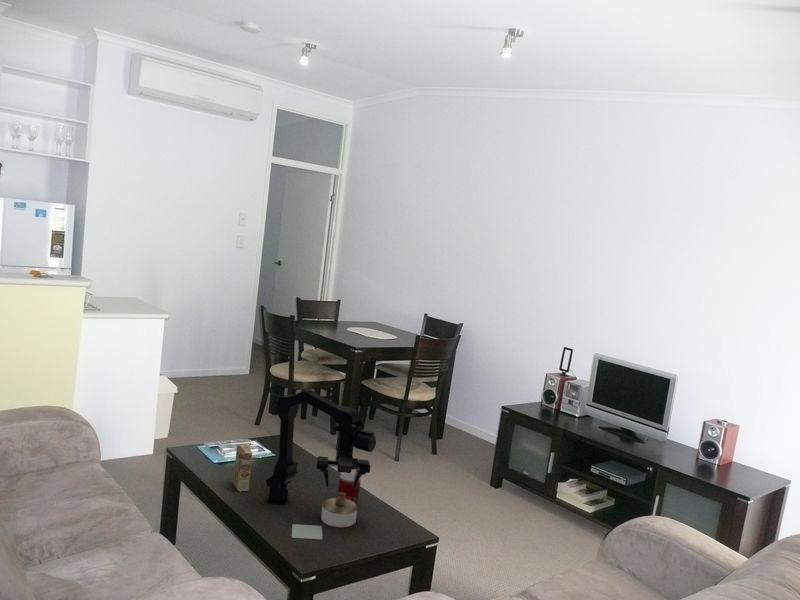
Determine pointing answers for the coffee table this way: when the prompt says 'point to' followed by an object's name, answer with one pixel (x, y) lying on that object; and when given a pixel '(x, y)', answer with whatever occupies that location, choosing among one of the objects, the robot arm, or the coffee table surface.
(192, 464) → the coffee table surface
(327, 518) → the bowl
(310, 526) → the mat
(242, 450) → the candy box
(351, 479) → the canned food
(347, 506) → the lid
